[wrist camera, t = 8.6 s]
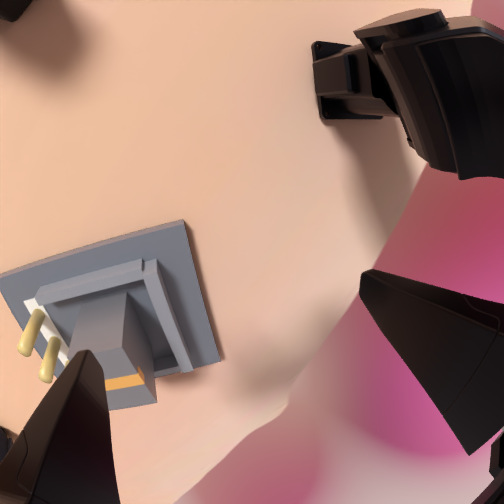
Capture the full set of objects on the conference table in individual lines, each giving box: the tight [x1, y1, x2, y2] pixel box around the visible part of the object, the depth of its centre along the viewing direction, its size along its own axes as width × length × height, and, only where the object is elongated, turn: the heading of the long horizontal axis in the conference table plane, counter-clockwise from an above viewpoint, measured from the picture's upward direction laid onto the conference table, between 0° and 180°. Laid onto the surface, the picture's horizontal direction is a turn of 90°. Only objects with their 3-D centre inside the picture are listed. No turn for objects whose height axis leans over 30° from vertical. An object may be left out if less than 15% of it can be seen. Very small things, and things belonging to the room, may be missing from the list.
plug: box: [67, 291, 157, 411], centre depth 17 cm, size 4×6×6 cm
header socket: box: [0, 219, 221, 383], centre depth 18 cm, size 17×14×6 cm
